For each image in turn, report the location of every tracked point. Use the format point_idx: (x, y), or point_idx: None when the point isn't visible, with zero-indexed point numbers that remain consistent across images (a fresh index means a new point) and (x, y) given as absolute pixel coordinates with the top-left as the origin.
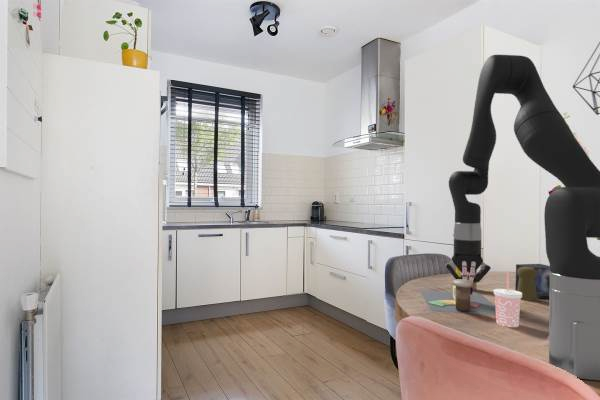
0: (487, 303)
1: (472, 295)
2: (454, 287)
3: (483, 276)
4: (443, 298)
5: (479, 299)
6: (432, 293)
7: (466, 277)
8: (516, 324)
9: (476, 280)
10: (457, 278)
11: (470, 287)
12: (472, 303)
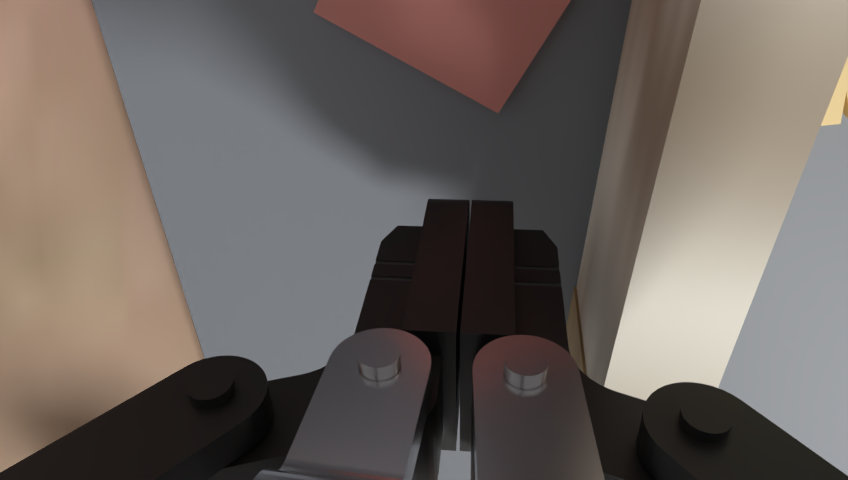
0: (202, 126)
1: None
2: (771, 250)
3: (9, 474)
4: (798, 257)
5: (286, 302)
6: (834, 453)
7: (485, 464)
8: None
9: (239, 389)
10: (740, 445)
11: (403, 302)
12: (436, 3)
